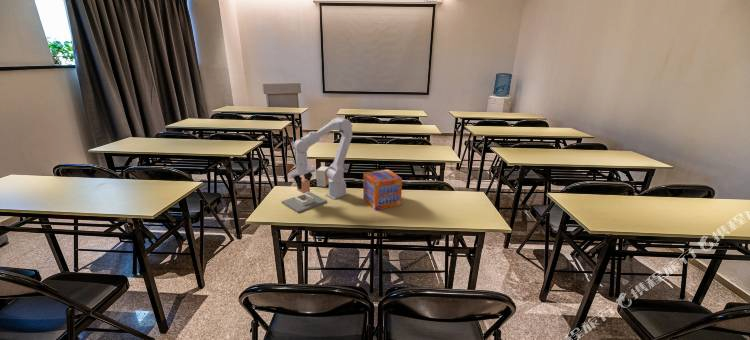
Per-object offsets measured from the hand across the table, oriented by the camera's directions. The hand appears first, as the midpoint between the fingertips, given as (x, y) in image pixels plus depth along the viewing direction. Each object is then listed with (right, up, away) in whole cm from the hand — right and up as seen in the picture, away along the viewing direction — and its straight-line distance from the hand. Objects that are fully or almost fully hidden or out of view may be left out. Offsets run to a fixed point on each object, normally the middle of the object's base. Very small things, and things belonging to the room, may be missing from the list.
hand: (303, 187), depth 162 cm
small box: (+6, 0, +28) cm, 28 cm away
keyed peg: (0, -2, +1) cm, 2 cm away
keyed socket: (0, -8, +3) cm, 9 cm away
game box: (+42, -8, +6) cm, 43 cm away
